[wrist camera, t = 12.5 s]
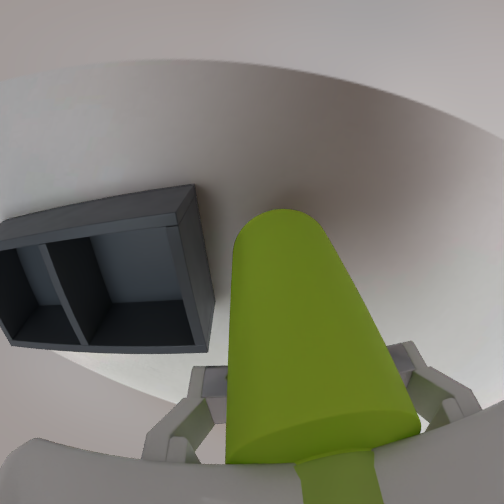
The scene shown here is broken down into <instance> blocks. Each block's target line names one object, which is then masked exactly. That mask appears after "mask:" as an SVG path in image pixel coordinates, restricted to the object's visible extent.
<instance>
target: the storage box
mask: <svg viewBox="0 0 504 504" xmlns="http://www.w3.org/2000/svg"><path fill="white" fill-rule="evenodd" d="M214 307H215V297H214V292H213V287H212V282H211V276H210V271H209V266H208V260H207V255H206V250H205V244H204V238H203V233H202V227H201V221H200V215H199V209H198V203H197V197H196V191H195V185H194V184H189V185H181V186H174V187H167V188H161V189H154V190H148V191H142V192H136V193H130V194H124V195H118V196H113V197H107V198H102V199H97V200H91V201H86V202H81V203H77V204H72V205H67V206H62V207H58V208H53V209H49V210H45V211H40V212H36V213H32V214H28V215H24V216H20V217H16V218H12V219H8V220H5V221H3V222H2V223H0V327H1V328H2V330H3V332H4V334H5V336H6V337H7V339H8V341H9V343H10V344H11V346H17V347H27V348H36V349H47V350H58V351H73V352H91V353H119V354H179V353H207V352H208V349H209V342H210V334H211V327H212V320H213V313H214Z"/></svg>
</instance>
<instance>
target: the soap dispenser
mask: <svg viewBox="0 0 504 504" xmlns="http://www.w3.org/2000/svg"><path fill="white" fill-rule="evenodd" d="M420 431H421V422H420V419H419V417H418V415H417V412H416V410H415V408H414V405H413V403H412V401H411V399H410V396H409V394H408V392H407V390H406V387H405V385H404V383H403V381H402V379H401V376H400V374H399V372H398V370H397V368H396V366H395V364H394V362H393V359H392V357H391V355H390V353H389V351H388V349H387V347H386V345H385V343H384V341H383V339H382V337H381V335H380V333H379V331H378V329H377V327H376V325H375V323H374V321H373V319H372V317H371V315H370V313H369V311H368V309H367V307H366V305H365V304H364V302H363V300H362V298H361V296H360V294H359V292H358V290H357V288H356V287H355V285H354V283H353V281H352V279H351V277H350V276H349V274H348V272H347V270H346V268H345V267H344V265H343V263H342V261H341V259H340V258H339V256H338V254H337V252H336V251H335V249H334V247H333V245H332V244H331V242H330V240H329V238H328V237H327V235H326V233H325V231H324V230H323V228H322V227H321V226H320V224H319V223H318V222H317V221H316V220H315V219H313V218H312V217H310V216H309V215H307V214H305V213H303V212H300V211H297V210H292V209H276V210H271V211H267V212H264V213H262V214H260V215H258V216H256V217H254V218H253V219H252V220H250V221H249V222H248V223H247V224H246V225H245V226H244V227H243V228H242V229H241V231H240V232H239V234H238V236H237V238H236V240H235V243H234V248H233V260H232V280H231V302H230V325H229V351H228V379H227V412H226V456H225V464H277V463H295V464H296V465H295V466H293V467H294V469H295V471H296V473H297V475H298V476H299V478H300V480H301V488H302V495H303V503H304V504H384V502H383V498H382V494H381V490H380V486H379V483H378V479H377V475H376V471H375V468H374V451H371V449H373V448H376V447H379V446H382V445H385V444H388V443H391V442H394V441H398V440H401V439H405V438H408V437H411V436H415V435H418V434H420Z"/></svg>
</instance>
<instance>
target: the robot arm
mask: <svg viewBox="0 0 504 504" xmlns="http://www.w3.org/2000/svg"><path fill="white" fill-rule="evenodd" d="M386 347H387V349H388V351H389V353H390V355H391V357H392V359H393V362H394V364H395V366H396V368H397V370H398V372H399V374H400V376H401V379H402V381H403V383H404V385H405V387H406V390H407V392H408V394H409V396H410V399H411V401H412V403H413V405H414V408H415V410H416V412H417V413H418V414H419V415H421V416H422V417H423V418H424V419H426V420H427V421H428V422H429V423H430V424H429V426H428V427H427V429H426V431H425V432H424V433H421V434H418V435H415V436H411V437H408V438H405V439H401V440H398V441H394V442H391V443H388V444H385V445H382V446H379V447H376V448H373V449H371V451H374V468H375V471H376V475H377V479H378V483H379V486H380V490H381V494H382V498H383V502H384V504H504V400H503V401H501V402H499V403H497V404H495V405H492V406H490V407H488V408H486V409H484V410H482V408H481V406H480V405H479V403H478V401H477V399H476V397H475V396H474V394H473V392H472V390H471V389H469V388H467V387H466V386H464V385H462V384H460V383H459V382H457V381H455V380H453V379H452V378H450V377H448V376H446V375H445V374H443V373H441V372H439V371H438V370H436V369H434V368H432V367H431V366H430V367H427V365H426V363H425V362H424V360H423V358H422V356H421V355H420V353H419V351H418V349H417V348H416V346H415V344H414V342H412V341H408V342H403V343H398V344H393V345H389V346H386ZM227 379H228V366H194V367H193V369H192V372H191V378H190V383H189V389H188V395H187V398H183V399H182V400H181V401H180V402H179V403H178V404H177V405H176V406H175V407H174V408H173V409H172V410H171V411H170V412H169V413H168V414H167V415H166V416H165V417H164V418H163V419H162V420H161V421H160V422H159V423H157V424H156V425H155V426H154V427H153V428H152V429H151V430H150V431H149V432H148V433H147V435H146V440H145V444H144V448H143V453H142V457H141V459H134V458H127V457H120V456H114V455H108V454H103V453H98V452H93V451H88V450H83V449H79V448H74V447H70V446H66V445H63V444H58V443H55V442H51V441H48V440H45V439H41V438H34V439H32V440H29V441H28V442H26V443H25V444H23V445H21V446H20V447H18V448H17V449H15V450H14V451H12V452H11V453H10V454H9V455H8V456H7V458H6V459H5V461H4V463H3V464H2V466H1V468H0V504H304V503H303V495H302V488H301V480H300V478H299V476H298V475H297V473H296V471H295V469H294V467H293V466H295V465H296V464H295V463H277V464H201V462H200V461H199V459H198V457H197V456H196V454H195V451H196V449H197V448H198V447H199V445H200V444H201V443H202V441H203V440H204V439H205V437H206V436H207V435H208V433H209V432H210V431H211V429H212V428H213V426H214V425H215V424H222V423H226V412H227Z"/></svg>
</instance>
